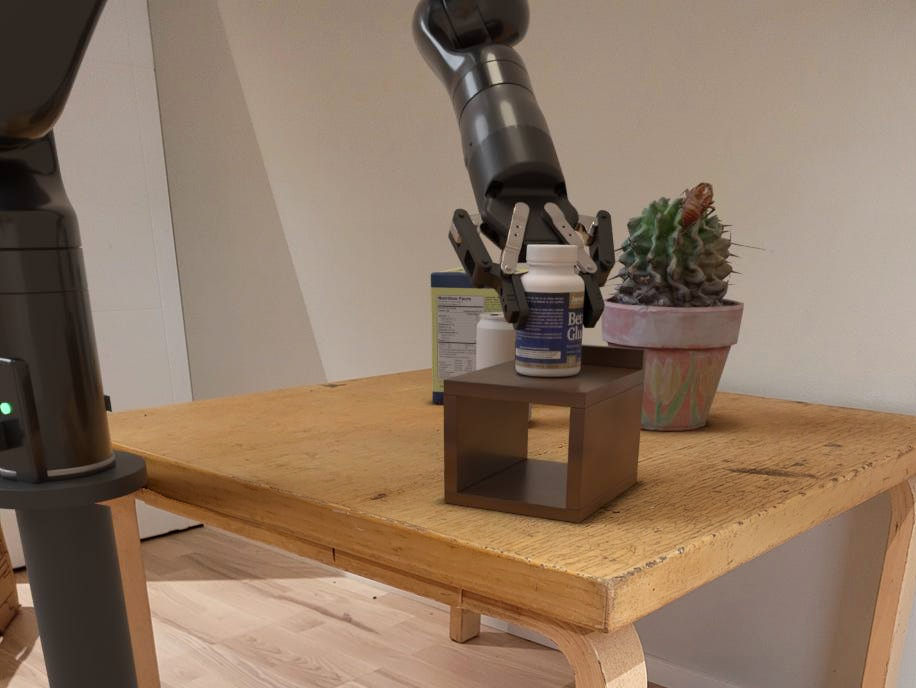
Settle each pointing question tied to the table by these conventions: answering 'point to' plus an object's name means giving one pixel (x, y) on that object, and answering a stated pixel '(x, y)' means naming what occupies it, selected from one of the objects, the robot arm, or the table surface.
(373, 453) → the table surface
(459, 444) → the shelf
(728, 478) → the table surface
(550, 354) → the pill bottle
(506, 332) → the beverage can
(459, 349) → the protein box
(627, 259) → the potted plant
